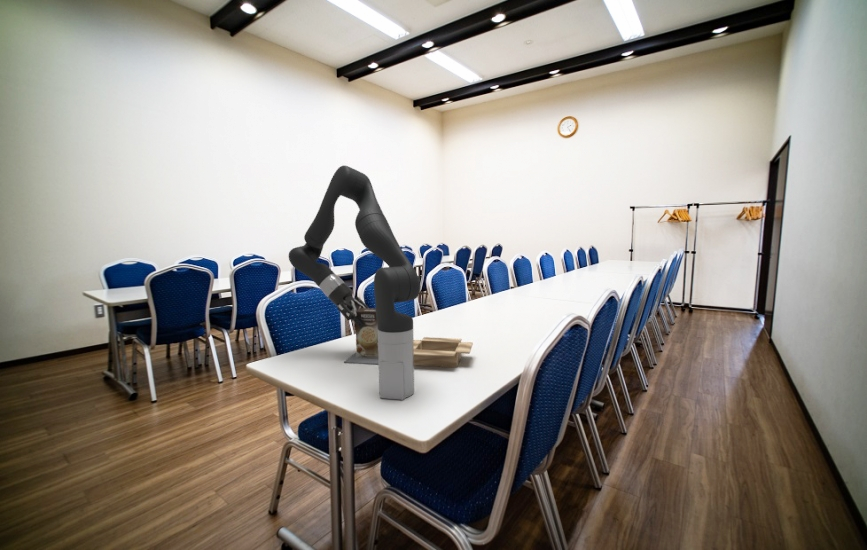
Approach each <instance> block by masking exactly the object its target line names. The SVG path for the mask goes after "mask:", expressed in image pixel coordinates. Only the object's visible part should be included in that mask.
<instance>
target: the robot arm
mask: <svg viewBox="0 0 867 550" xmlns="http://www.w3.org/2000/svg"><path fill="white" fill-rule="evenodd" d="M374 191H375V190H374V188H373V185H372V183H371V180H370V178H369V177H368V175H367V174H365V173H363V172H361V171H359V170H357V169H355V168H353V167H350V166H348V165H341V166H339V167H338V168H337V169H336V171H335V172H334V174H333V175H332V178H331V179H330V181H329V184H328V186H327V189H326V192H325V193H324V195H323V199H322V201H321V203H320V205H319V208H318V211H317V213H316V215H315V217H314V219H313V221H312V222H311V223H310V225H309V227H308V229H307V230H306V232H305V234H304V237H303V238H304V239H303V240H304V241H305V243H304V244H303V245H300V246H297V247H294V248H292V249H290V251H289V252H288V261H289V262H290V264H291V265H292V267H293V268H294V269H296V270H297V271H299V272H300V273H302V274H303V275H304V276H306V277H307V278H309V279H311V280H312V281H313V282H314V283H315V284H316V286H317V287H319V289H320V290H321V291H322V293H323V294H324V295H325V296H326V298H328V299H329V300H330V301H331V302H332V303H333V304H334V305H335V307H337V308H336V309H337V310H338V311H339V313H341V315H343V317H344V318H345V319H346V320H347V321H348V322H349V321H352V322H354V323H355V325H356V324H357V325H358V326H359V327H360V328H363V327H364V325H365V322H364V321H363V320H362V319H361V318H360V317H359V316H358V315H357V313H356V311H357V310H359V309H360V308H370V307H369V306H368V305H367V304H366V303H365V302H364V301H363V300H362V299H361V298H360V297H359V296H356V297H355V298H354V297H353V296H352V295H353V293H354V291H353V290H352V289H351V288H350V287H349V285H348V284H347V283H345V282H344V280H343V279H342V278H341V277H339V275H337V274H336V273H335V272H334V271H333V270H332V269H331V268H330V267H329V266H328V265H327V264H326V263H322V262H321V263H320V262H317V261H318V260H319V259H320V257H321V254H322V252H323V248H324V245H325V244H326V242H327V241H328V239H329V238H330V236H331V234H332V233H333V231H334V229H335V228H334V227H335V206H336V203H337V201H338V199H339V198H340V197H344V198H347V199H349V200H351V201H353V202H354V203H355V204H356V205H357V208H358V209H359V211H358V212H357V215H356V217H355V222H354V225H355V229H356V232H357V234H358V237H359V240H360V241H361V243H362V245H363V246H364V248H366V249H367V250H368V251H369V252H371V253H372V254H373V255H375V256H376V257H378V258H379V259H380V260H382V261H383V262H384V263H385V264H386V265H387V266H385V267H379V268H378V269H377V270H376V271H375V274H374V278H373V290H374V291H373V293H374V300H375V301H374V303H375V305H374V306H375V308H376V318H377V324H378V361H379V365H378V386H379V387H378V391H379V398H380V399H388V400H389V399H390V400H402V401H403V400H405V399H406V398H408V397H411V396H412V395H414V393H415V365H414V345H413V340H414V319H413V317H412V316H411V315H408V314H406V313H405V314H404V313H401V312H398V311H397V310H396V308H395V303H403V302H409V301H410V302H411V301H413V300H416V299H417V298H418V297H419V295H420V293H421V292H420V291H421V283H420V278H419V276H418V274H417V272H416V269H415V268H414V266H413V265H412V263H411V262H410V260H409V259H408V257H407V255H406V253H405V252H404V251H403V249H402V247H401V245H400V244H399V242H398V240H397V239H396V236H395V235H394V233H393V230H392V228H391V226H390V224H389V222H388V220H387V218H386V216H385V214H384V212H383V211H382V208H381V205H380V204H379V201H378V199H377V197H376V194H375V192H374Z"/></svg>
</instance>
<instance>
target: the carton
mask: <svg viewBox="0 0 867 550" xmlns="http://www.w3.org/2000/svg"><path fill="white" fill-rule="evenodd" d="M413 345H414V366H427V367H428V366H429V367H442V368H443V367H445V368H447V367H448V368H458V365H459V362H460V360H461V357H462V354H464V355H465V354H467V355H468V354H470V353H471V351H472V347H473V345H474V342H468V341H462V338H453V337H451V338H450V337H448V338H447V337H428V336H426V337H425V336H424V337H423V338H422V340H421V339H420V340H419V339H413Z"/></svg>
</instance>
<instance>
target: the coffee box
mask: <svg viewBox="0 0 867 550" xmlns="http://www.w3.org/2000/svg"><path fill="white" fill-rule="evenodd" d="M356 313H357V315H358V316H359V317H360V318H361V319H362V320H363V321H364V322H365V325H364V327H363V328H360V327H359V326H358V325H357V324H356V323H355V350H356V352H355V353H356V357H357V358H378V324H377V318H376V307H375V308H374V307H373V308H372V307H371V308H370V307H369V308H360V309H359V310H357V311H356Z"/></svg>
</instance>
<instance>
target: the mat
mask: <svg viewBox="0 0 867 550" xmlns="http://www.w3.org/2000/svg"><path fill="white" fill-rule="evenodd" d="M343 363H344V364H359V365H374V366H379V361H378V358H357V357H356V352H355V353H353V354H352V355H351V356H349V357H348V358H347V359H346V360H344V361H343Z"/></svg>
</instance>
